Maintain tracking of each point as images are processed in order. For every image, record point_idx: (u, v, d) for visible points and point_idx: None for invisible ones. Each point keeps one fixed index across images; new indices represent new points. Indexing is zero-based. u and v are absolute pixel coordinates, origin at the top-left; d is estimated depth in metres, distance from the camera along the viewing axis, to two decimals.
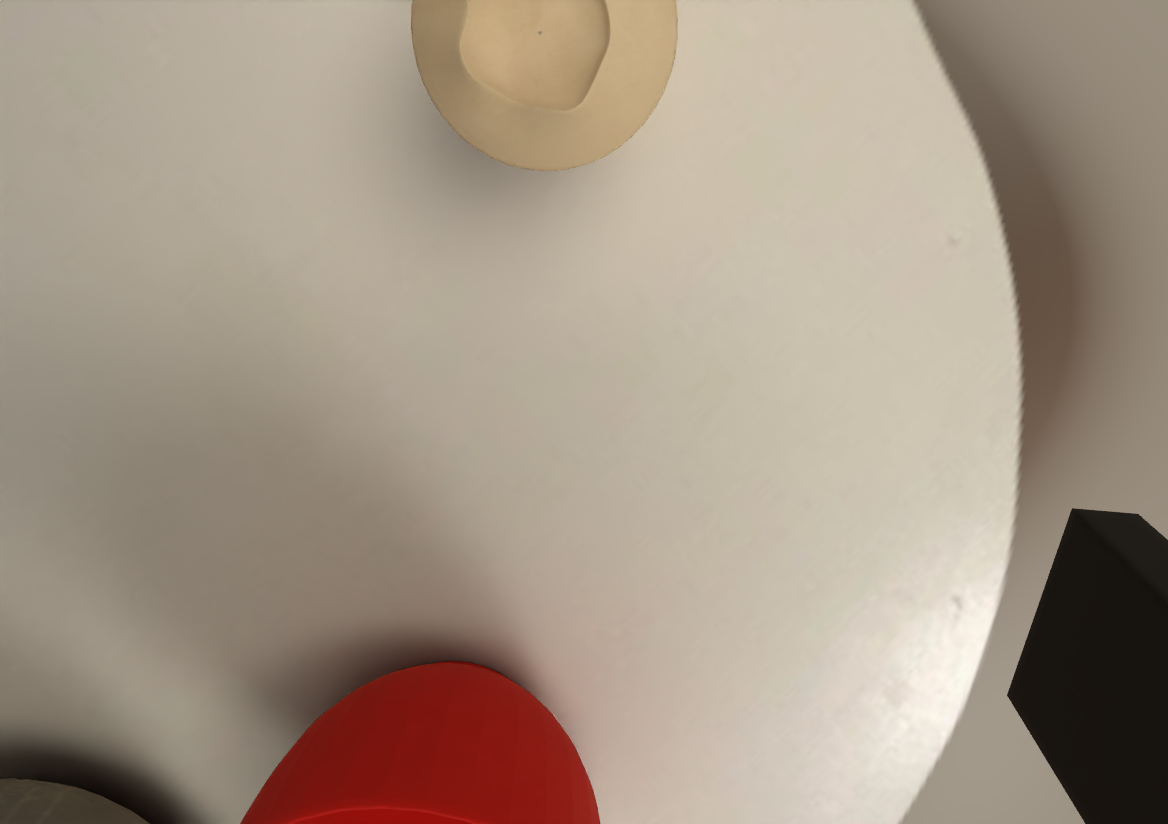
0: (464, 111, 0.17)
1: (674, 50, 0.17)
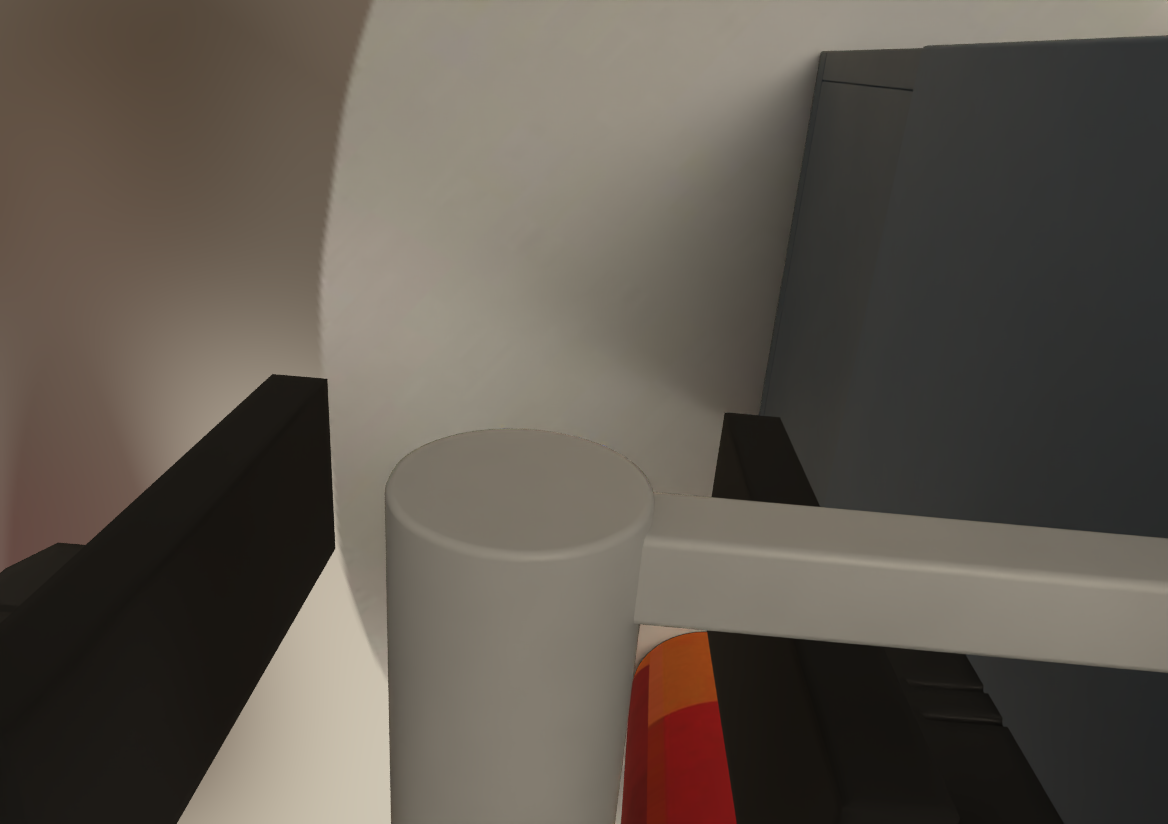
0: None
1: None
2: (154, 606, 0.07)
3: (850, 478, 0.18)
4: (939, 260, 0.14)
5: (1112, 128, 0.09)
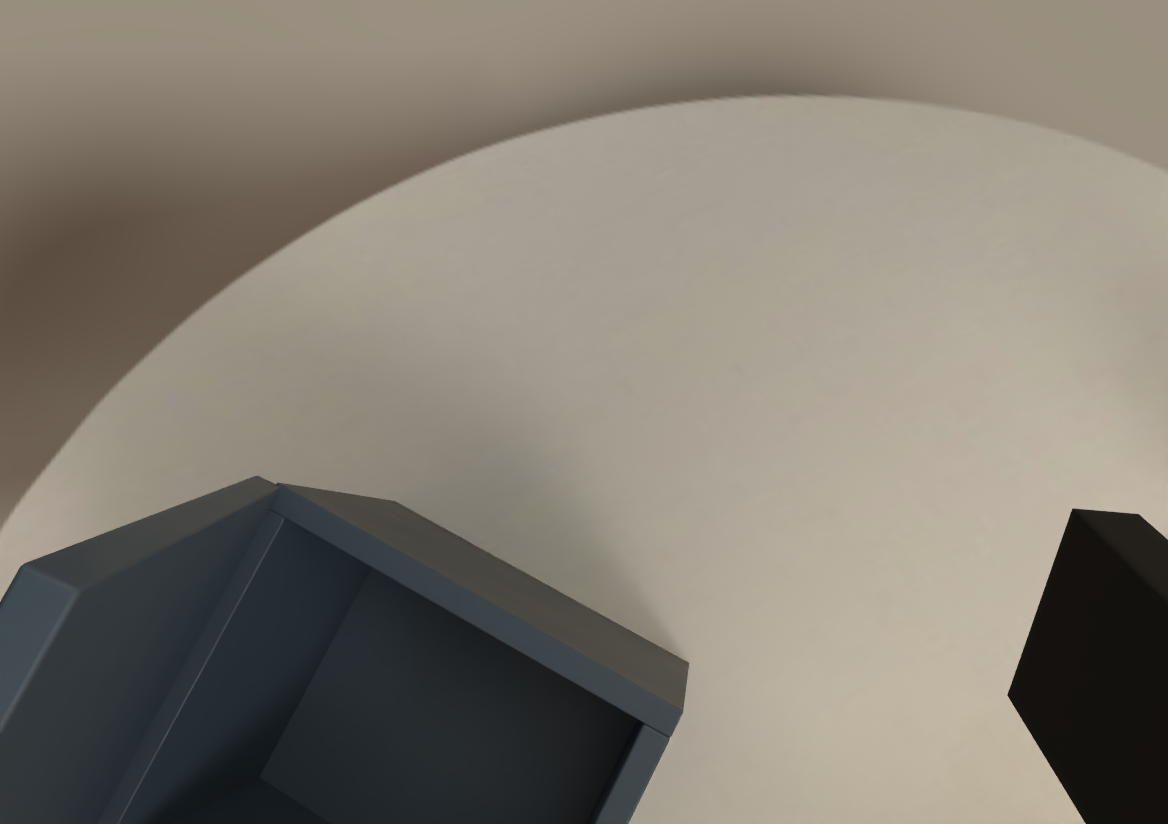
0: None
1: None
2: None
3: None
4: None
5: None
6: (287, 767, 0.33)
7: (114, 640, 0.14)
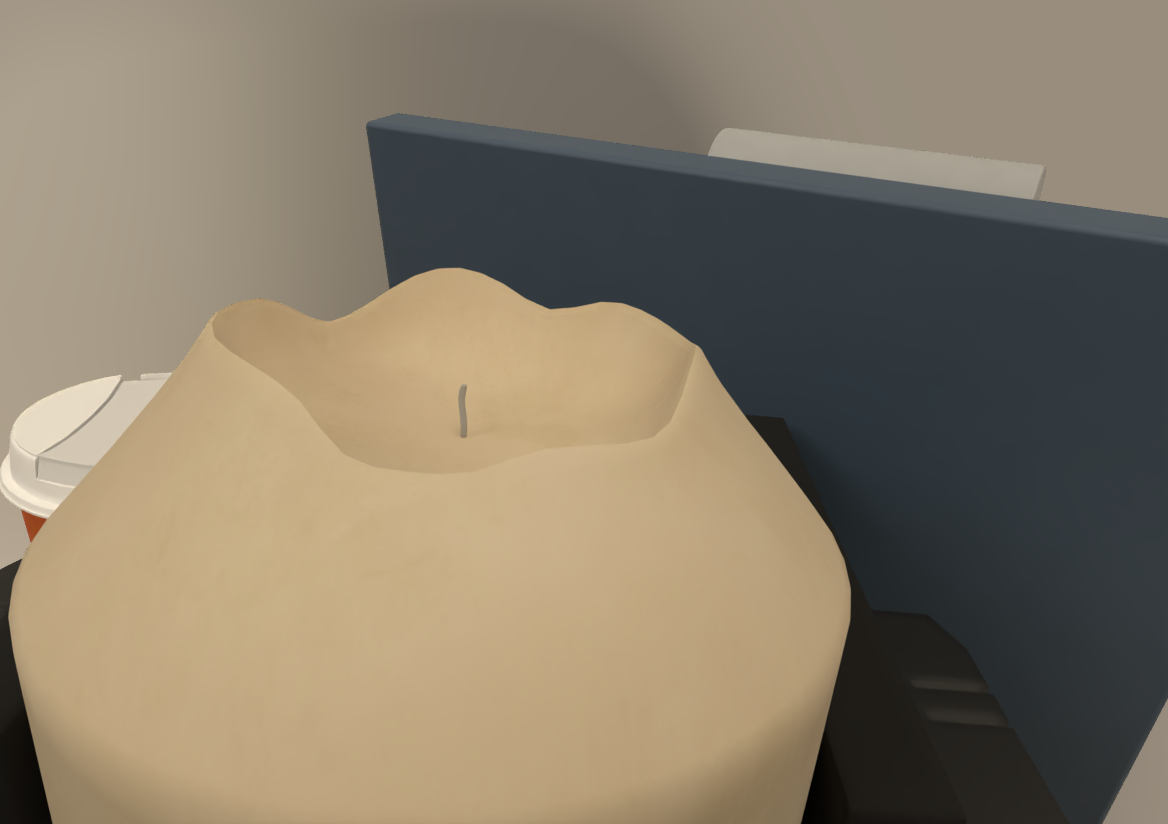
0: None
1: (191, 792, 0.04)
2: None
3: None
4: None
5: None
6: None
7: (1062, 516, 0.10)
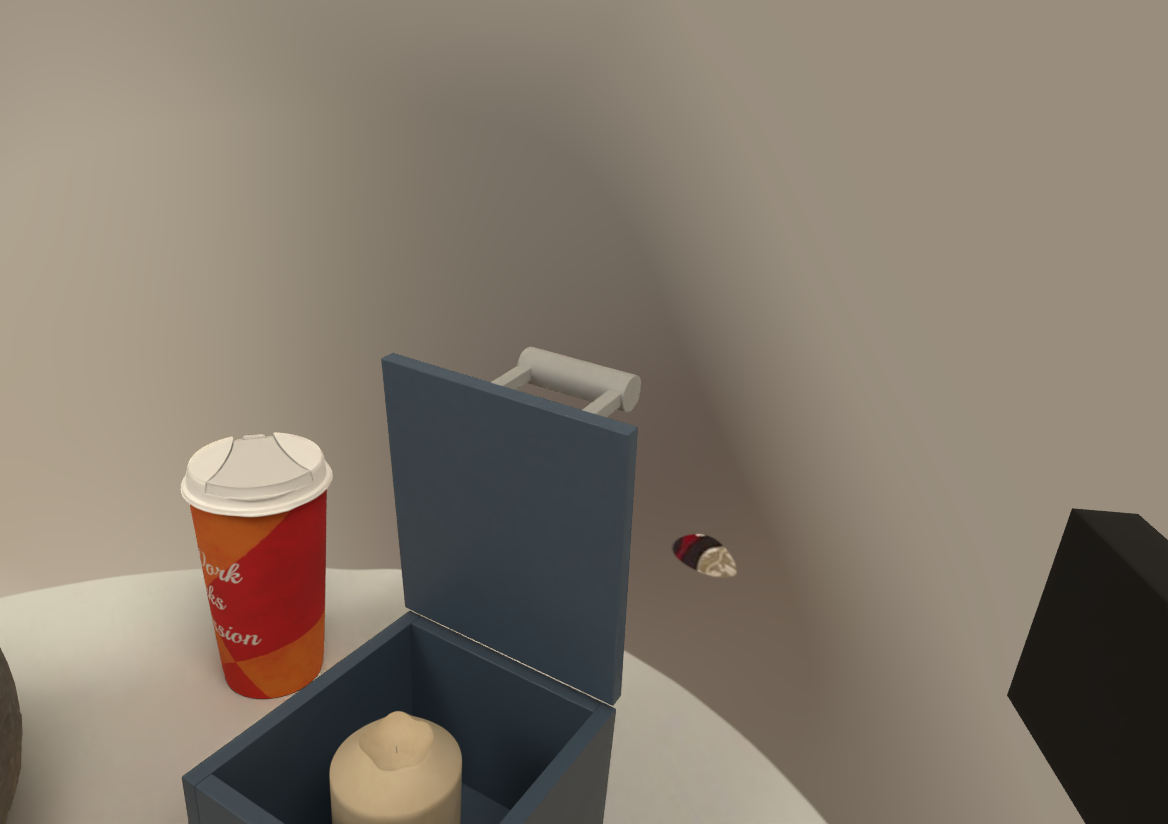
0: (379, 719, 0.37)
1: (361, 812, 0.33)
2: None
3: None
4: None
5: None
6: None
7: (586, 497, 0.34)
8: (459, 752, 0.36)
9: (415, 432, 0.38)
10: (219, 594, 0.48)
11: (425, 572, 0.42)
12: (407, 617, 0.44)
